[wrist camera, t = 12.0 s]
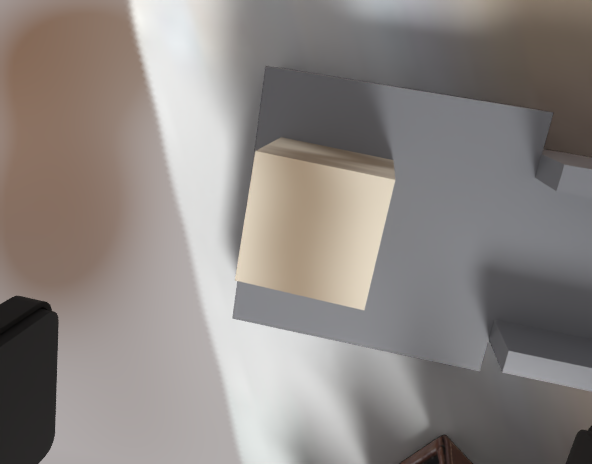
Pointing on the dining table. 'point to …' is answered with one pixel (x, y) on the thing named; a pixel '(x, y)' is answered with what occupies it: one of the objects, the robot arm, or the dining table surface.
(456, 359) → the grey stepped platform
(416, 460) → the letter holder
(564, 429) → the dining table surface
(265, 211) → the birch block
